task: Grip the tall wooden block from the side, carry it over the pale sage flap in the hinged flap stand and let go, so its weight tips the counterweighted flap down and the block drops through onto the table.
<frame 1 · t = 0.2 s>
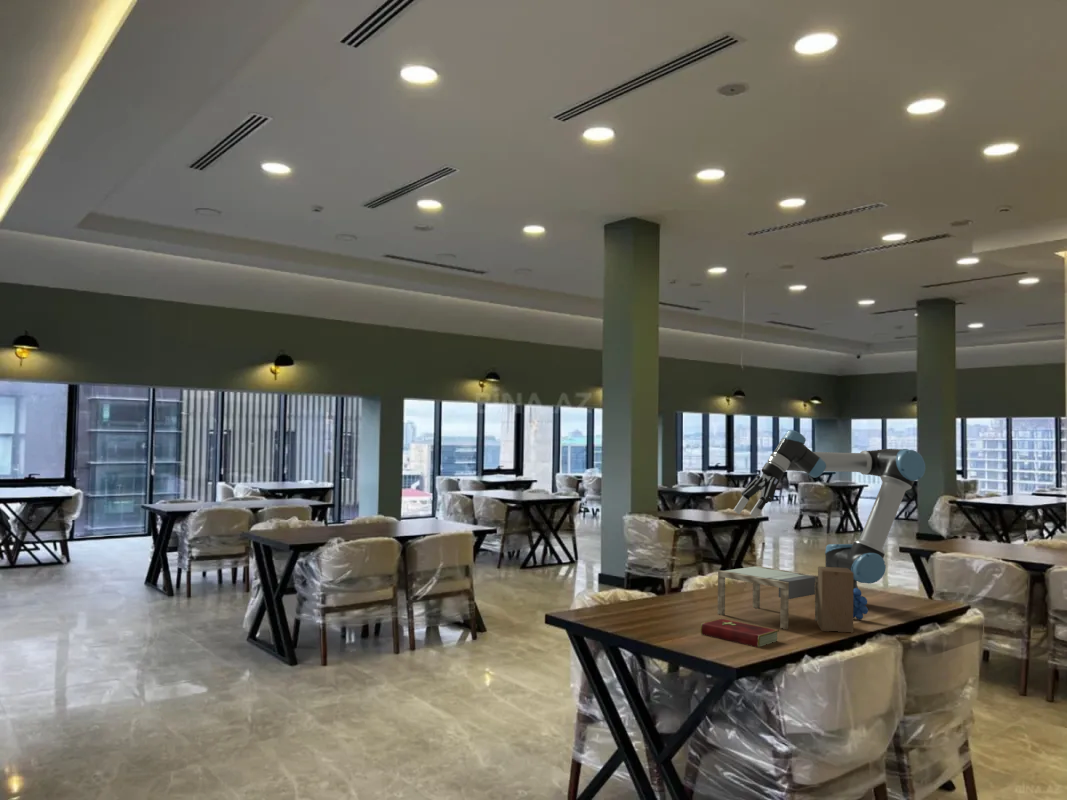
hand: (744, 514, 299), 36 cm above the table, tool tilted 35°, fingers open, 13 cm apart
grapes: (850, 619, 289), on the table
hardcover book: (739, 639, 258), on the table
hinged flap stand: (759, 615, 292), on the table
trapdoor: (769, 582, 289), point 13 cm above the table, hinge at 0.0°
wooden block: (834, 629, 273), on the table
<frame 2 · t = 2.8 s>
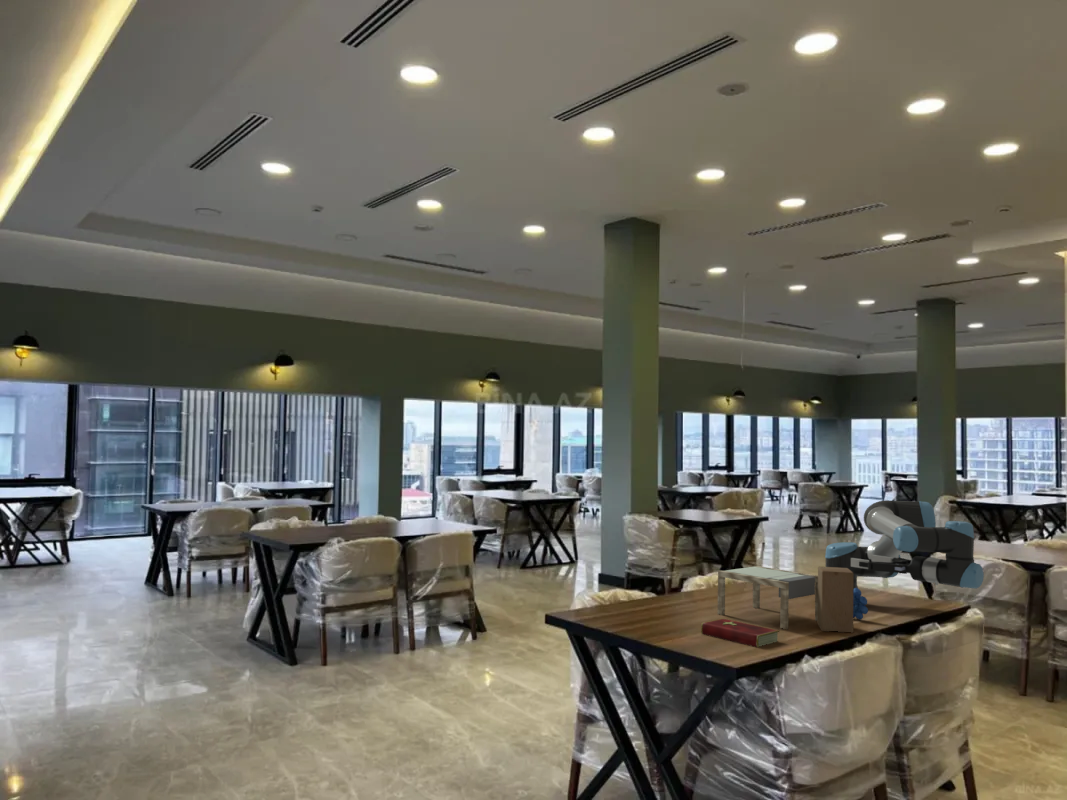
hand: (862, 560, 267), 24 cm above the table, tool horizontal, fingers open, 13 cm apart
nothing on the table moved.
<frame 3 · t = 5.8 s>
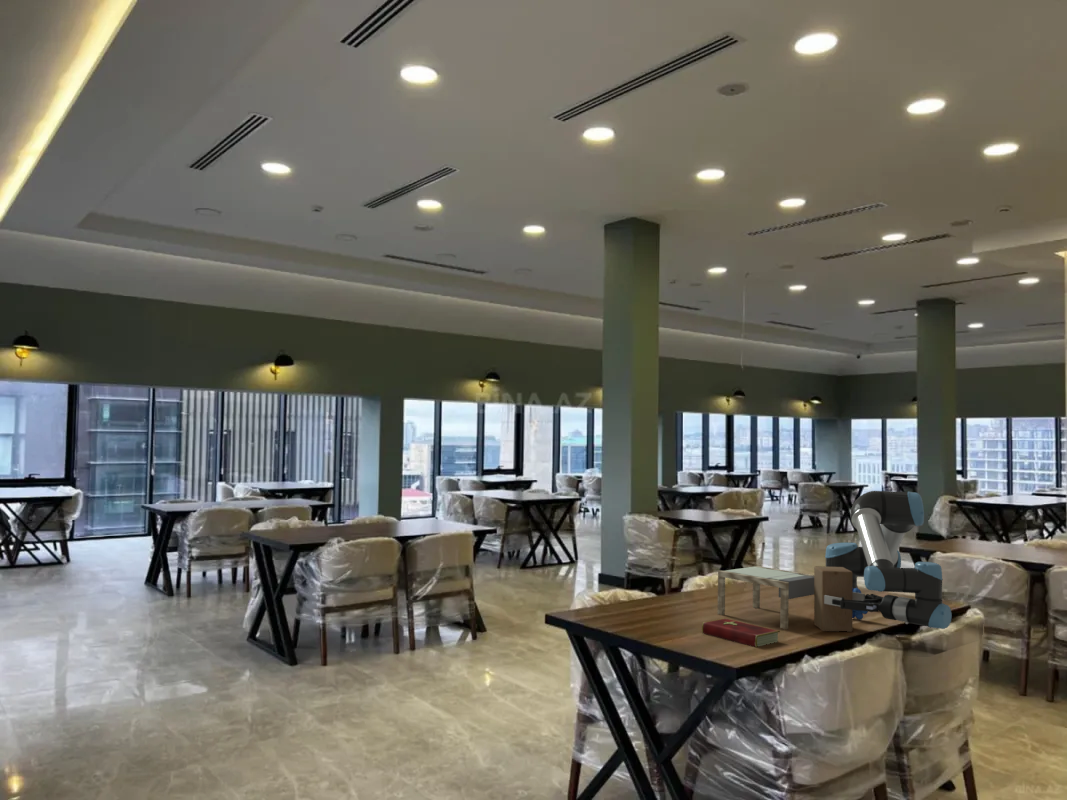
hand: (835, 597, 273), 11 cm above the table, tool horizontal, fingers open, 13 cm apart
wooden block: (833, 628, 274), on the table, touching gripper
everything else where it was.
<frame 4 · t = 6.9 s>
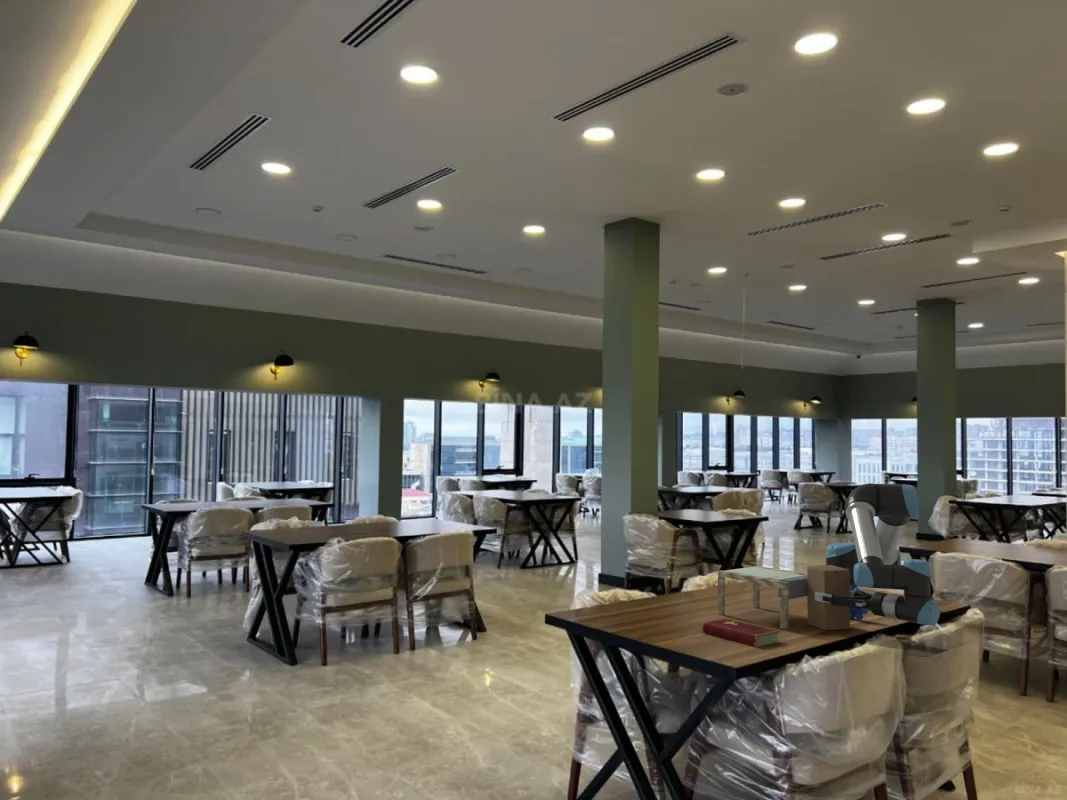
hand: (825, 594, 277), 11 cm above the table, tool horizontal, fingers closed on wooden block, 12 cm apart
wooden block: (828, 627, 276), on the table, touching gripper
everything else where it was.
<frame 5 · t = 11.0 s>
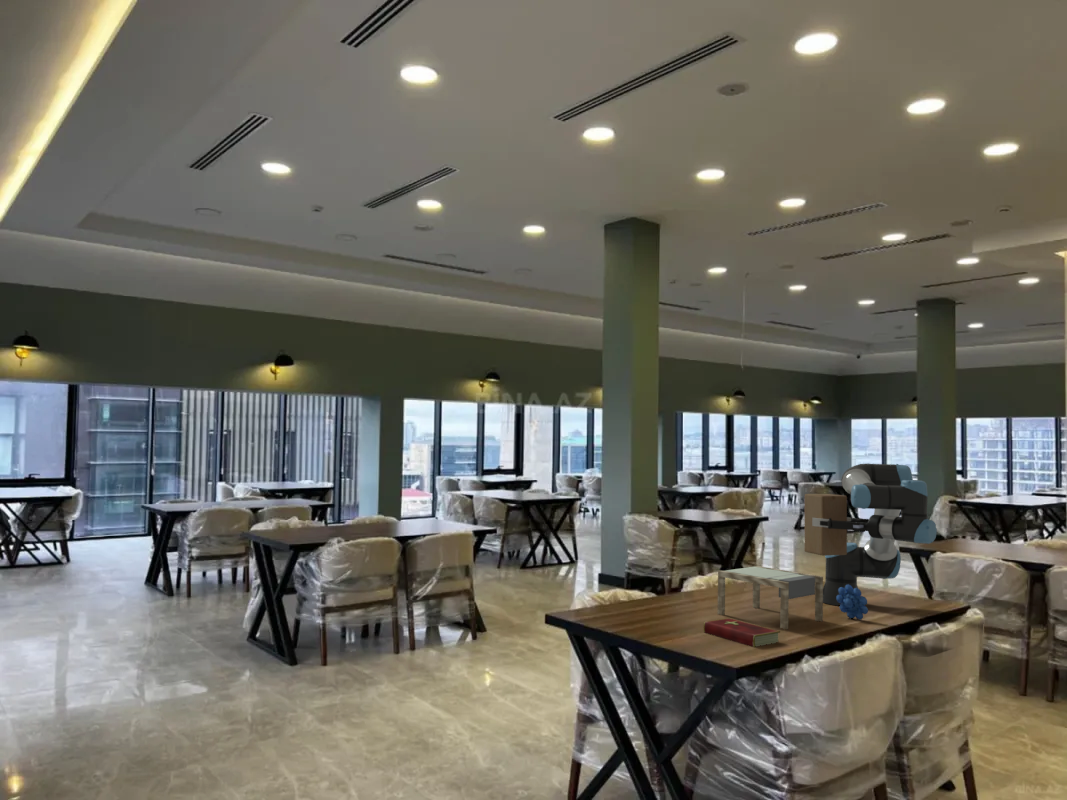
hand: (823, 520, 278), 36 cm above the table, tool horizontal, fingers closed on wooden block, 12 cm apart
wooden block: (825, 554, 277), point 25 cm above the table, touching gripper
when the fingers open (28 cm above the table, at t = 14.9 s): wooden block drops 12 cm, point 5 cm above the table.
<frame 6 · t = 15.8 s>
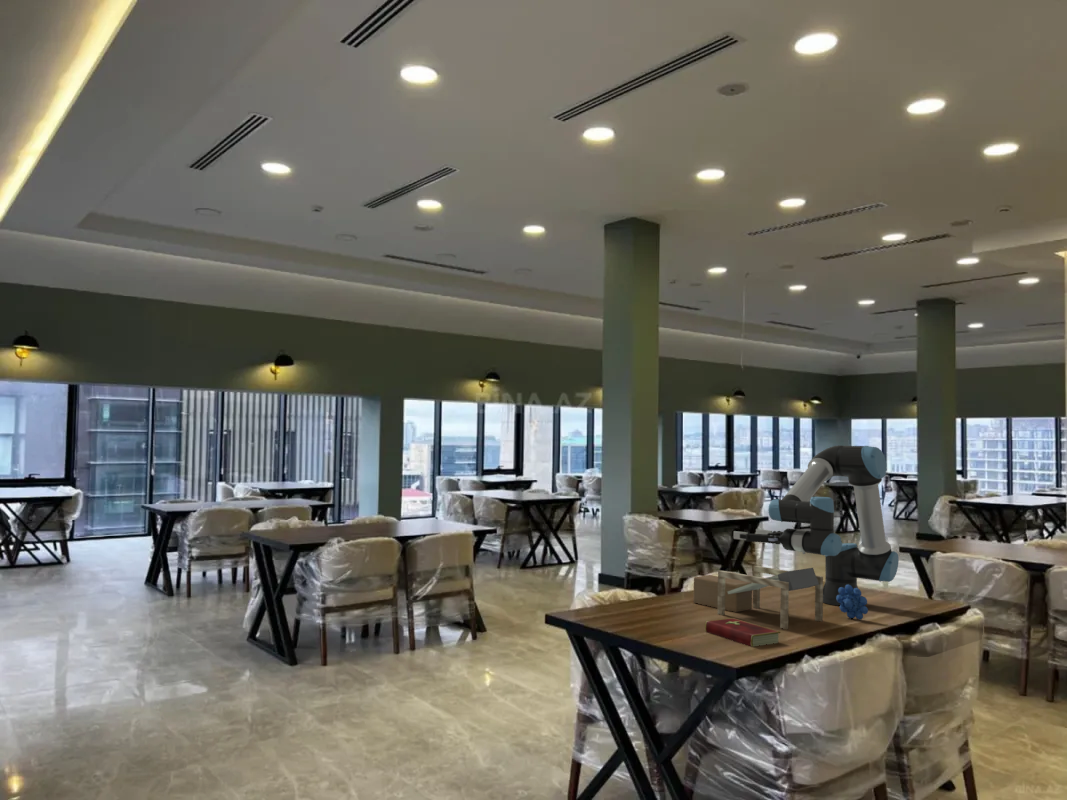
hand: (745, 533, 298), 29 cm above the table, tool horizontal, fingers open, 13 cm apart
trapdoor: (773, 587, 288), point 11 cm above the table, hinge at -23.8°
wooden block: (745, 597, 299), point 5 cm above the table
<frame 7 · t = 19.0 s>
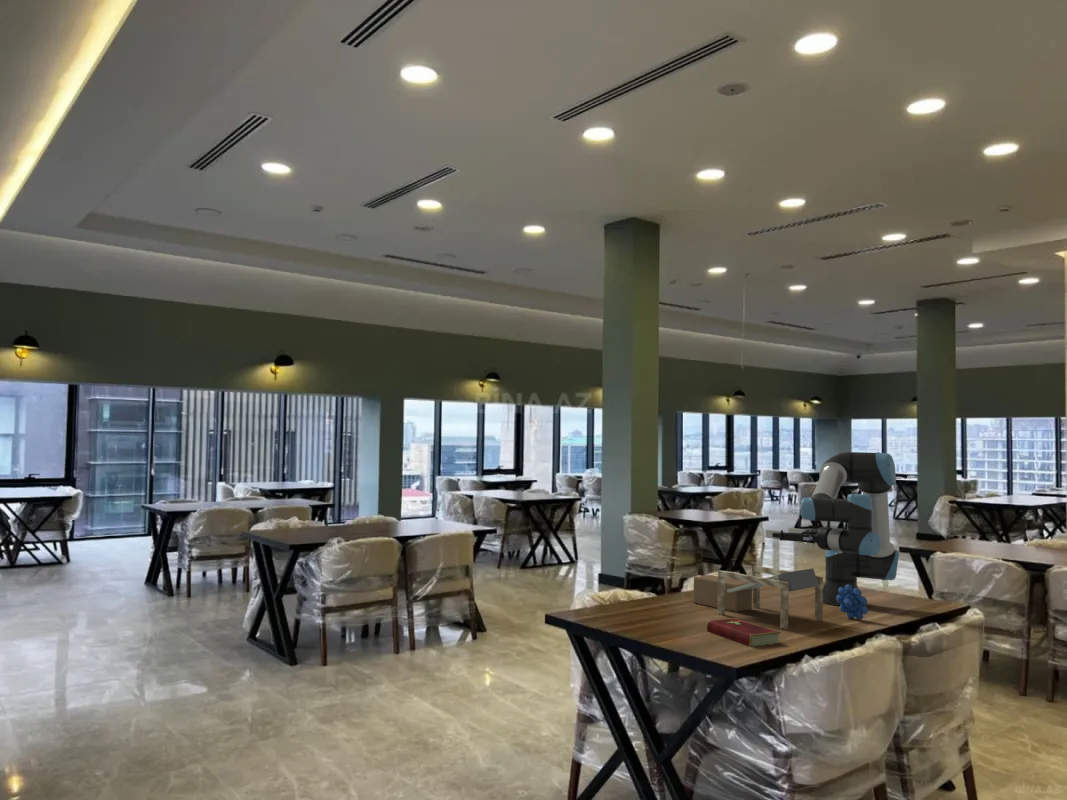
hand: (777, 532, 288), 30 cm above the table, tool horizontal, fingers open, 13 cm apart
trapdoor: (772, 587, 288), point 11 cm above the table, hinge at -21.8°, touching wooden block
wooden block: (744, 597, 299), point 5 cm above the table, touching trapdoor
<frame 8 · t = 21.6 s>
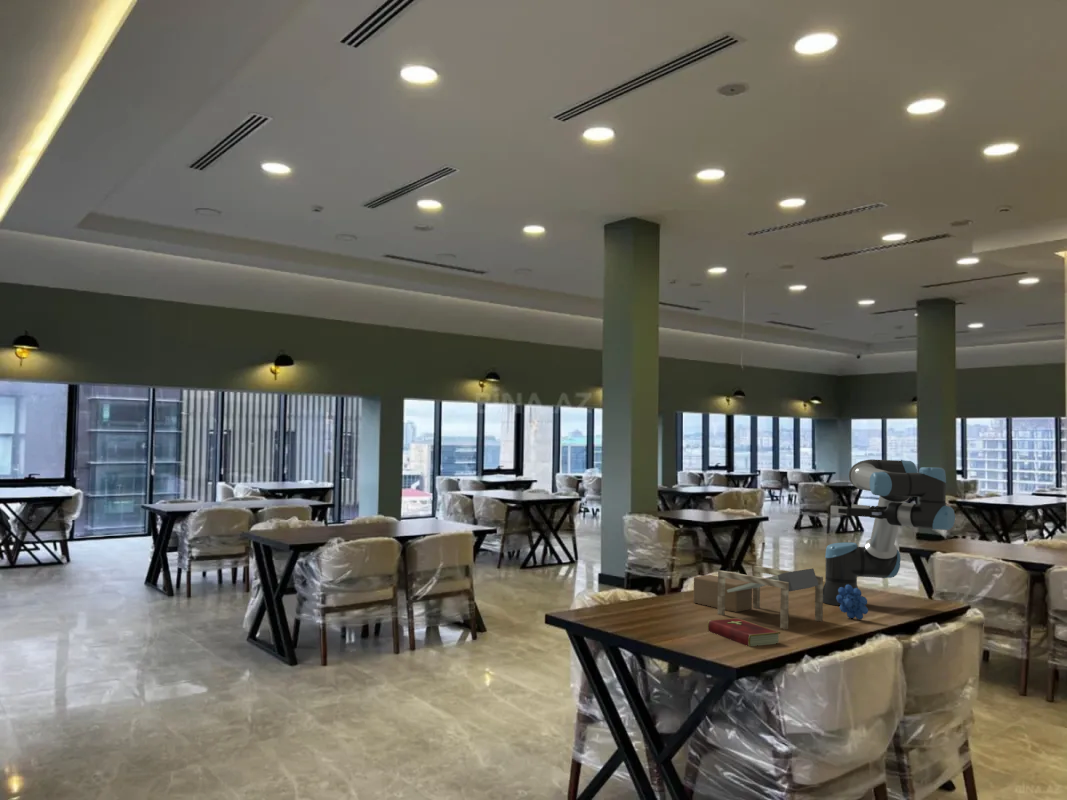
hand: (841, 508, 280), 40 cm above the table, tool horizontal, fingers open, 13 cm apart
at the end: wooden block point 5.0 cm above the table; the gripper is holding nothing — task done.
